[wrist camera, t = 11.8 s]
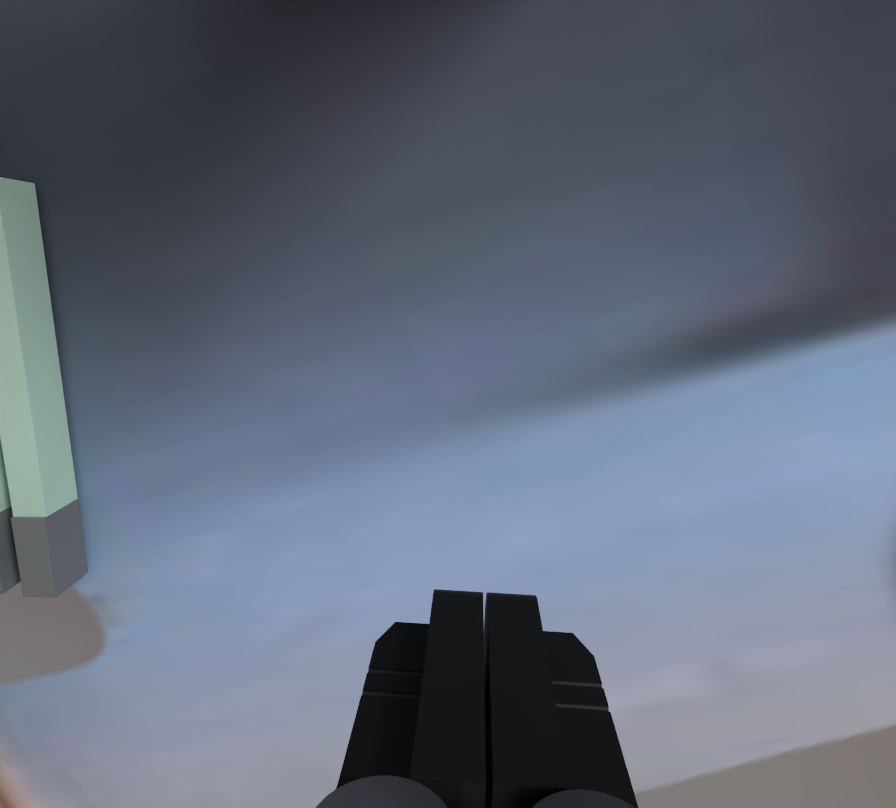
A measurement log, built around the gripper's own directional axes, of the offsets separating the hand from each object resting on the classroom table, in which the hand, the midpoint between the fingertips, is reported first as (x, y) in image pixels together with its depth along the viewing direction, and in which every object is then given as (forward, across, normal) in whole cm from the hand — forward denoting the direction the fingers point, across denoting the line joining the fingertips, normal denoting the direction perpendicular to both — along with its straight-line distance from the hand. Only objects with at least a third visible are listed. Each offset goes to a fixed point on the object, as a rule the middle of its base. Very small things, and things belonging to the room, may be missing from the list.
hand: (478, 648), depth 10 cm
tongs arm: (+28, +28, +1) cm, 40 cm away
